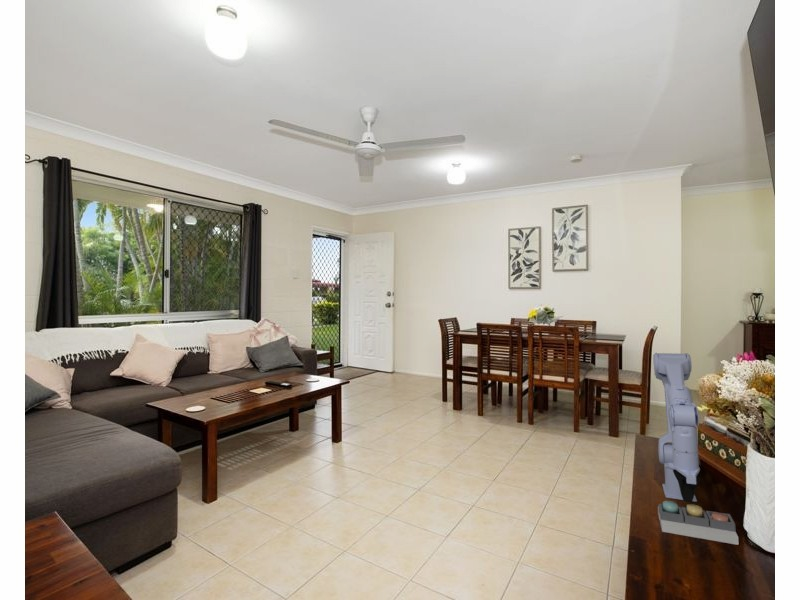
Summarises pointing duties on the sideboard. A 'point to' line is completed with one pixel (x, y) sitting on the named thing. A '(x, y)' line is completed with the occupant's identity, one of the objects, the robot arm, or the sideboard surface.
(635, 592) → the sideboard surface
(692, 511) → the ochre button
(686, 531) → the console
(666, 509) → the teal button
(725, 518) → the brick button
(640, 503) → the sideboard surface
